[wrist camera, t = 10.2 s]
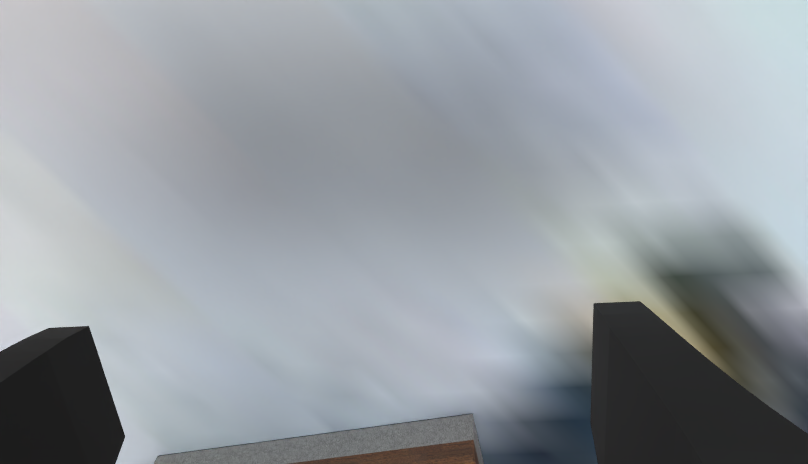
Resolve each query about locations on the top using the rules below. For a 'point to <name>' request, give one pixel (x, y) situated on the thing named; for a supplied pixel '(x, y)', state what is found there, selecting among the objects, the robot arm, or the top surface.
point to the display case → (356, 446)
